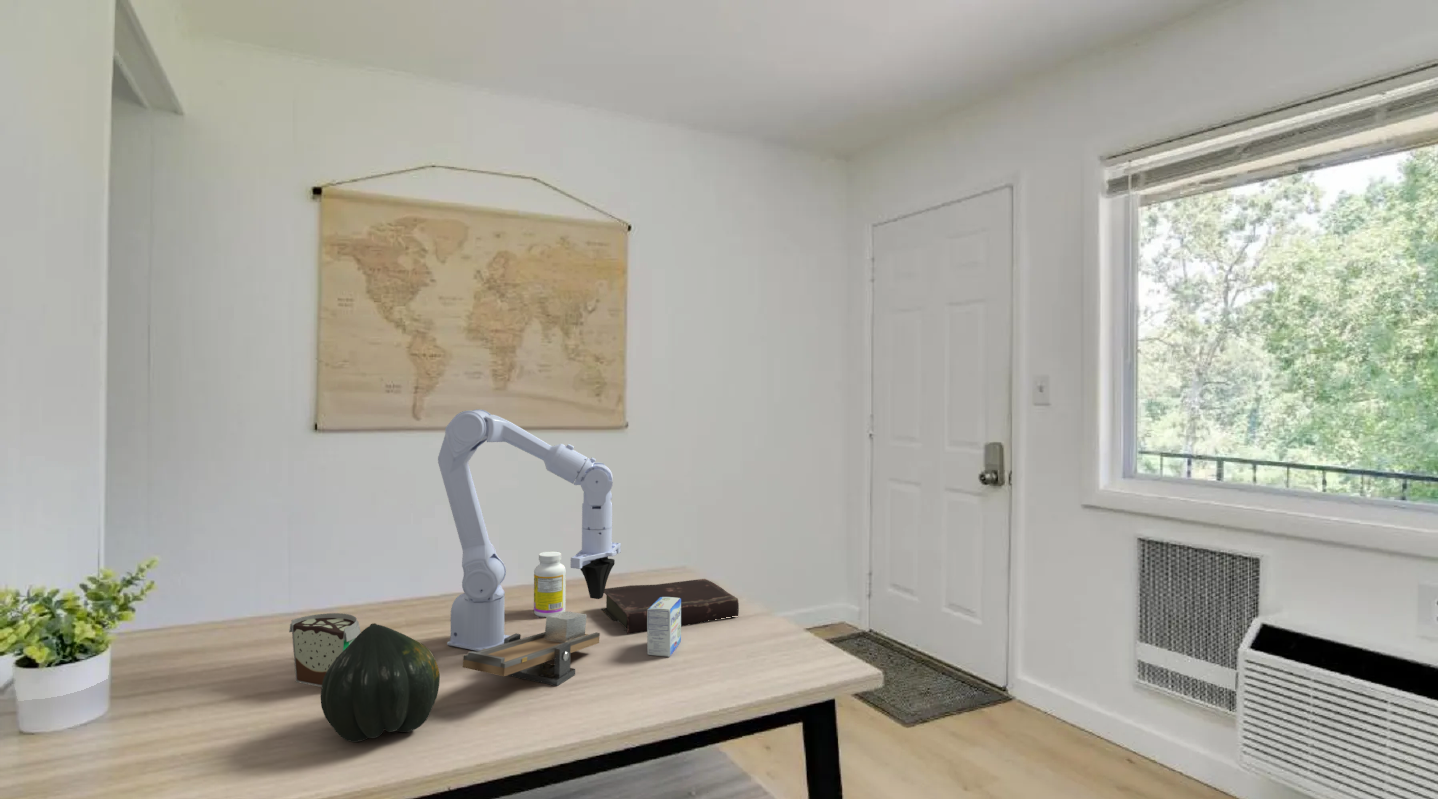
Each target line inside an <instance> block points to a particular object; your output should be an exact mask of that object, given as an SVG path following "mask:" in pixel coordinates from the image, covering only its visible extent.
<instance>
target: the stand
mask: <svg viewBox="0 0 1438 799" xmlns="http://www.w3.org/2000/svg"><path fill="white" fill-rule="evenodd" d="M519 639H521V633H514V634H510V635H509V637H507V638H505V639H504V644H505V643H509V642H512V641H516V640H519ZM570 648H571V643H564V644H562V645H560V646H558V647H556V648H555V659H554V664H552V663H547V662H544V663H541V664H538V665H535V666H532V667H529V668H527V669H524V670H521V671H518V672H515V673H512V674H509V675H507V677H513V678H518V679H522V680H527V681H531V682H537V683H541V684H545V685H549V686H556V687H558V686H560V685H561V684H563V683H565V682H566V681H568V680H570V679H571V678H572V677H574V676H575V675H576V668H573V667H571V653H570Z"/></svg>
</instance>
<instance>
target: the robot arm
mask: <svg viewBox="0 0 1438 799" xmlns="http://www.w3.org/2000/svg"><path fill="white" fill-rule="evenodd" d="M444 429H445V431H444V432H445V433H444V437H443V441H442V443H441V446H440V450H439V453H438V456H437V463H438V466H439V471H440V473H441V478H442V482H443V485H444V488H445V489H444V490H445V492H446V496H447V499H448V502H449V507H450V511H451V514H452V517H453V521H454V525H455V527H456V532H457V535H458V539H459V542H460V545H461V549H462V557H461V558H462V560H461V567H462V570H463V577H462V581H461V587H462V591H463V592H464V593H460V594H459V595H458V596H457V597H456V598H455V599H454V600H453V602H452V605H451V607H450V608H451V609H450V640H449V641H447V643H446V645H447V646H451V647H455V648H461V649H466V650H471V651H474V652H477V651H481V650H484V649H488V648H491V647H495V646H498V645H502V644H504V639H505V638H507V637H509V636H510V635H507V634H505V598H506V597H505V593H506V592H505V590H504V589H503V587H502V585H501V584H502V583H503V581H504V580H505V577H506V574H507V567H506V565H505V564H506V563H504V561H503V560H502V559H501V558H500V557H499V555H498V553H497V551H496V548H495V546H494V545H493V543H492V542H491V539H490V537H489V533H488V529H487V526H486V522H485V518H484V515H483V512H482V511H483V510H482V507H481V504H480V501H479V496H478V494H477V490H476V486H475V483H474V479H473V476H472V472H471V468H470V465H469V462H470V460H471V459H472V457H473V456H474V455H475V453H476V452H477V449H478V448H479V447H480V446H481V445H483V444H484V443H485V442H486V443H507V444H509V445H511V446H514V447H515V448H516V449H517V448H518V449H519V450H522V451H524V452H525V453H527V454H530V455H532V456H534V457H535V458H538V459H540V460H542V461H543V462H544V465H545V469H546V471H548V472H549V473H552V474H554V475H556V476H557V477H559V478H561V479H563V480H564V481H567V482H568V483H571V484H573V485H574V486H580V487H581V489H582V491H583V500H582V504H581V549H580V550H579V551H578V552H577V553H576V554H575V555H574V556H572V557H570V569H577V570H580V571H581V573H582V575H583V577H584V579H585V582H586V586H587V590H588V595H589V597H590V599H594V600H595V599H596V600H601V599H602V598H603V597H604V595H605V593H604V590H605V589H606V586H607V581H608V578H609V576H610V574H611V571H612V569H613V567H614V565H615V563H616V562H615V558H610V557H615V556H617V555H619V554H620V553H621V551H622V549H621V547H622V543H621V542H614V541H613V503H612V499H613V494H612V487H613V483H614V480H613V479H614V477H613V476H614V475H613V472H612V470H611V469H610V468H609V467H608V466H607V465H606V464H605V463H604V462H597V459H596V457H595V458H594V457H590V458H589V457H587V456H586V455H584V454H582V453H581V452H579V451H577V450H576V449H575V450H574V448H575V446H574V445H572V444H570V443H568V444H567V445H565V444H564V443H558V444H556V445H551V444H550V443H548V442H546V441H544V440H542V439H541V438H539V437H537V436H536V435H534V434H533V433H530V431H527V430H526V429H523V428H522V427H520V426H519V425H517V424H515V423H513V422H512V421H509V420H508V419H506V418H503V417H501V416H499V415H497V414H491V413H490V412H489V411H487V410H485V409H480V408H479V409H477V408H476V409H472V410H464V411H461V412H459V413H457V414H456V415H455V416H454V417H452V419H451V420H450V422H449V423H448V424H447V426H445V428H444Z"/></svg>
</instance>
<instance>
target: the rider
mask: <svg viewBox="0 0 1438 799" xmlns="http://www.w3.org/2000/svg"><path fill="white" fill-rule="evenodd" d="M545 618H546V619H545V630H544V632H545V639H544V640H550V641H555V642H561V643H565V642H568V641H571V640H574V639H577V638H580V637H583V636H585V634H586V623H587V614H586V613H585V614H584V613H579V612H573V611H568V610H565V612H561V613H557V614H554V615H550V616H547V617H545Z"/></svg>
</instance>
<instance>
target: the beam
mask: <svg viewBox="0 0 1438 799" xmlns="http://www.w3.org/2000/svg"><path fill="white" fill-rule="evenodd" d="M600 636H601V633H600V632H598V631H597V632H593V633H589V634H588V633H585V636H583V637H580V638H577V639H574V640H571V641H568V642H565V643H571V648H570V654H572V653H575V652H577V651H581V650H583V649H586V648H589V647H592V646H595V645H598V644H599V643H600ZM544 639H545V631H544V632H541V633H537V634H533V635H530V636H527V637H523V638H520V639H519V640H516V641H512V642H509V643H505V644H502V645H498V646H495V647H491V648H488V649H484V650H481V651H474V650H471V651H468V652H467V653H466V654H464V655H463V660H462V668H463V669H467V670H468V669H469V670H472V671H477V672H482V673H486V674H491V675H496V676H500V677H508V675H509V674H512V673H515V672H518V671H521V670H524V669H527V668H529V667H532V666H535V665H538V664H541V663H547V662H549V661H551V660H555V648H556V647H558V646H560V645H562V644H564V643H561V642H555V641H550V640H544Z"/></svg>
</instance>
